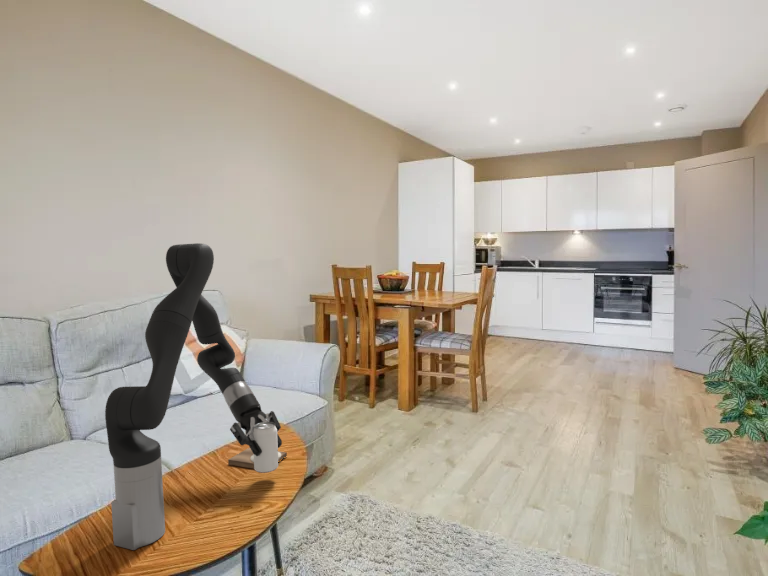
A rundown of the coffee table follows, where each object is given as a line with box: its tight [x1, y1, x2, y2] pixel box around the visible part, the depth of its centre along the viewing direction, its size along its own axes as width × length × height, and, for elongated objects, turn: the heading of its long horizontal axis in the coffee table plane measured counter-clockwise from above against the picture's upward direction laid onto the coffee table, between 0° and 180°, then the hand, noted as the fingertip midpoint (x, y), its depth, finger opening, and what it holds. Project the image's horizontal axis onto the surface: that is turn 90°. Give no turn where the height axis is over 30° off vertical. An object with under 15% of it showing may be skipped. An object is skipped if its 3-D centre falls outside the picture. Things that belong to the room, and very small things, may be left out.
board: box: [227, 447, 288, 469], centre depth 142 cm, size 10×14×2 cm
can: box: [253, 421, 279, 474], centre depth 128 cm, size 6×6×12 cm
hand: (269, 450), depth 127 cm, fingers closed on can, 6 cm apart
